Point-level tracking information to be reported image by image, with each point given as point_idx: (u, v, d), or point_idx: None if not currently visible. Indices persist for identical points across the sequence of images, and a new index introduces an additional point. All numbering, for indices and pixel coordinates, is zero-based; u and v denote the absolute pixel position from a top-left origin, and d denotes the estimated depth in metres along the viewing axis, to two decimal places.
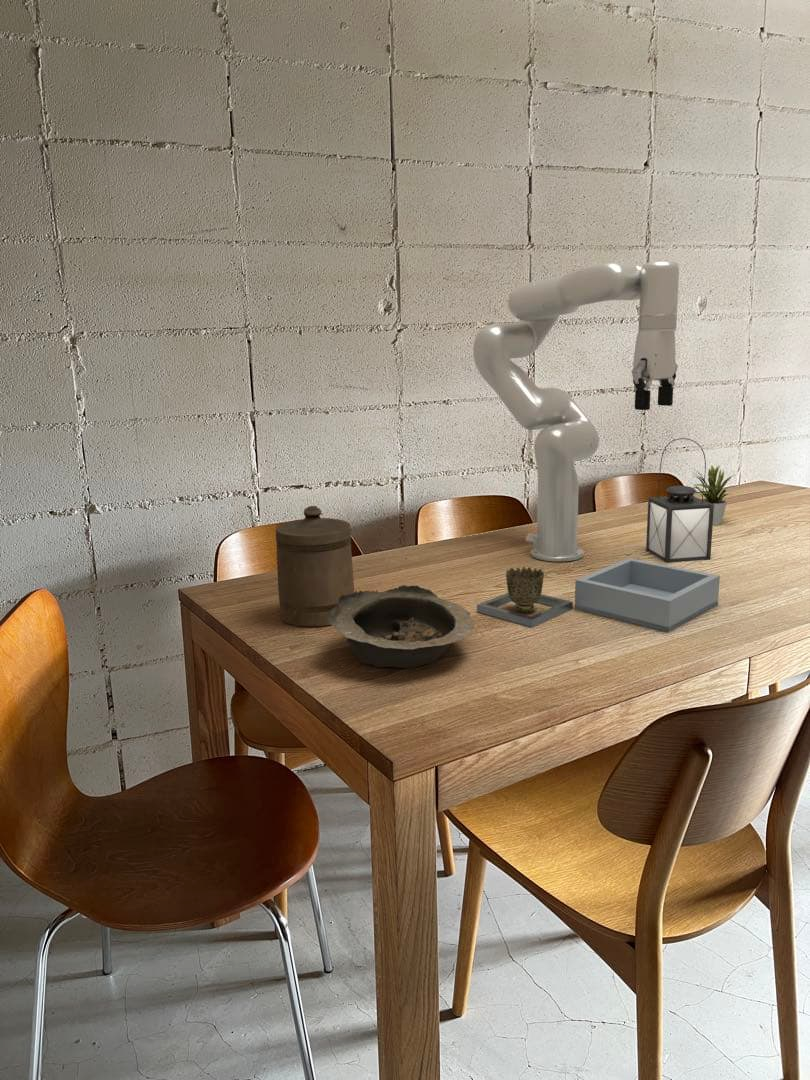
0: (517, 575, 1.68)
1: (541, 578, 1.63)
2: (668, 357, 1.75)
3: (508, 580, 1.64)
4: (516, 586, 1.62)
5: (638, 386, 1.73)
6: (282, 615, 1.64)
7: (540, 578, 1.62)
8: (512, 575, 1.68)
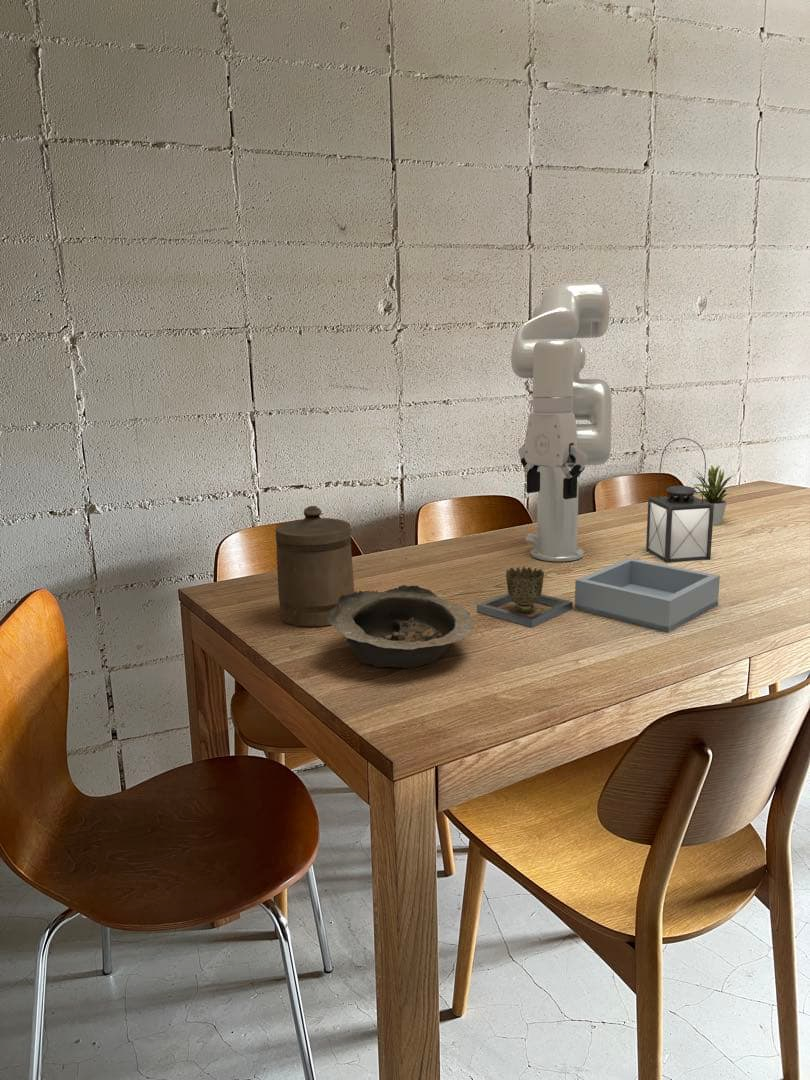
0: (517, 575, 1.68)
1: (541, 578, 1.63)
2: None
3: (508, 580, 1.64)
4: (516, 586, 1.62)
5: (577, 473, 1.58)
6: (282, 615, 1.64)
7: (540, 578, 1.62)
8: (512, 575, 1.68)
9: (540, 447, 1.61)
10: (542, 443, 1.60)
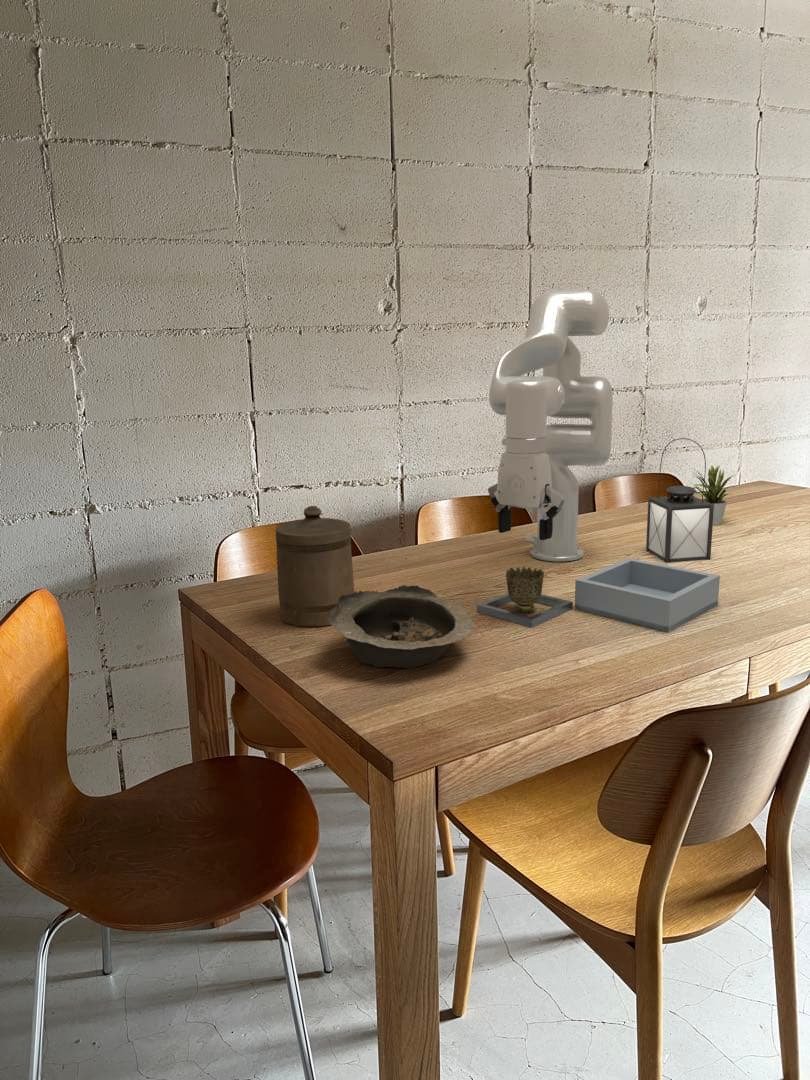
0: (517, 575, 1.68)
1: (541, 578, 1.63)
2: None
3: (508, 580, 1.64)
4: (516, 586, 1.62)
5: (554, 514, 1.57)
6: (282, 615, 1.64)
7: (540, 578, 1.62)
8: (512, 575, 1.68)
9: (514, 488, 1.58)
10: (517, 484, 1.58)
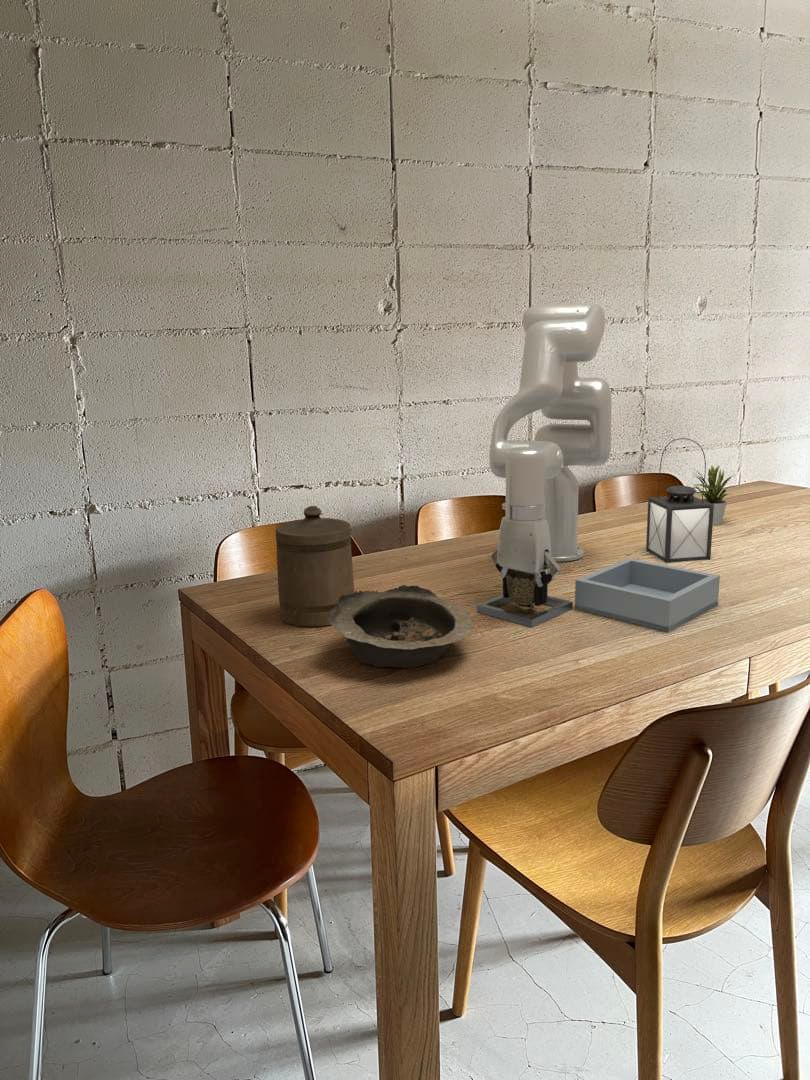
0: (517, 575, 1.68)
1: None
2: None
3: (508, 580, 1.64)
4: (516, 586, 1.62)
5: (548, 581, 1.61)
6: (282, 615, 1.64)
7: None
8: (512, 575, 1.68)
9: (514, 552, 1.62)
10: (517, 549, 1.61)
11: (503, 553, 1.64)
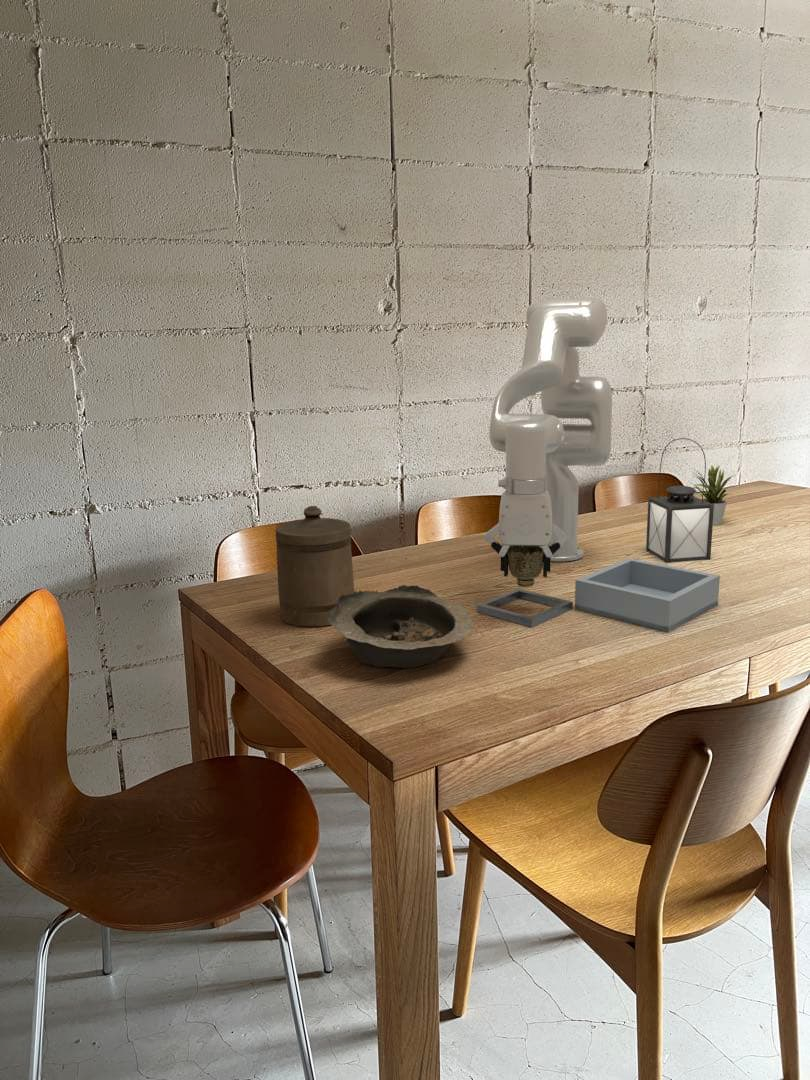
0: (510, 552, 1.66)
1: None
2: None
3: (517, 557, 1.61)
4: (528, 561, 1.61)
5: None
6: (282, 615, 1.64)
7: None
8: None
9: (523, 528, 1.60)
10: (526, 524, 1.60)
11: (508, 531, 1.61)
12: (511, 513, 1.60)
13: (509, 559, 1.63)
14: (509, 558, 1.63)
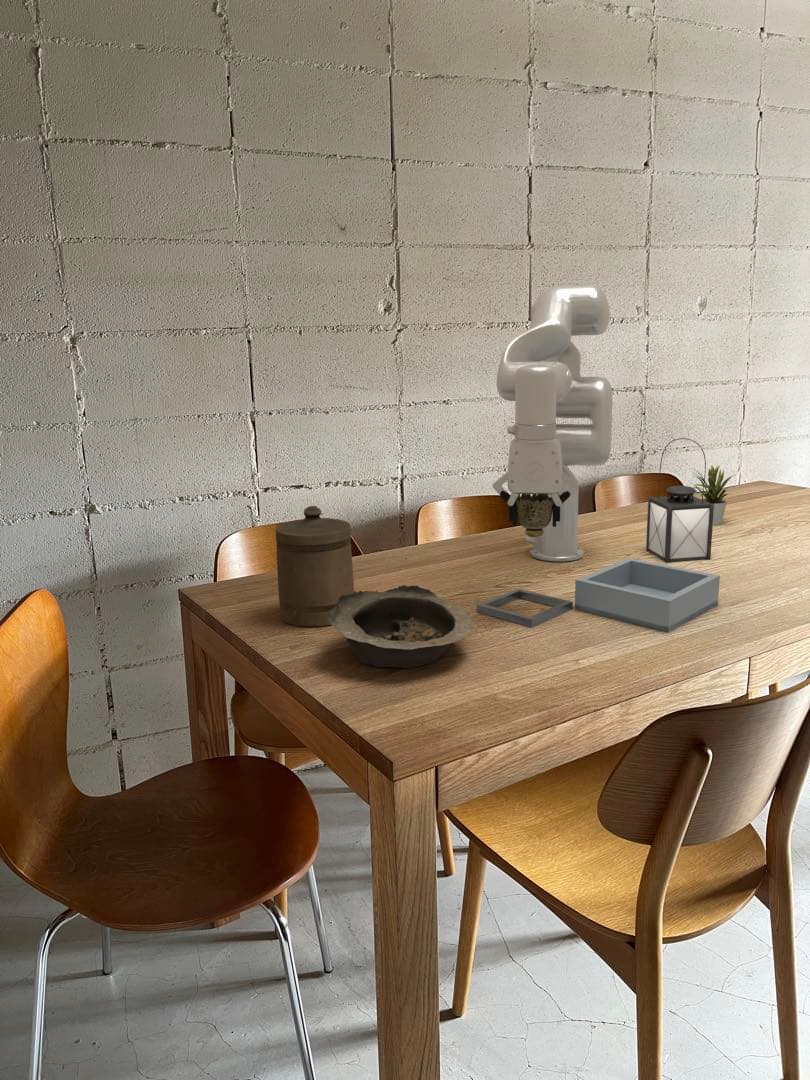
0: (519, 502, 1.63)
1: None
2: None
3: (526, 505, 1.58)
4: (537, 509, 1.58)
5: None
6: (282, 615, 1.64)
7: None
8: None
9: (532, 475, 1.57)
10: (535, 471, 1.57)
11: (517, 478, 1.58)
12: (520, 460, 1.57)
13: (518, 508, 1.60)
14: (518, 507, 1.60)
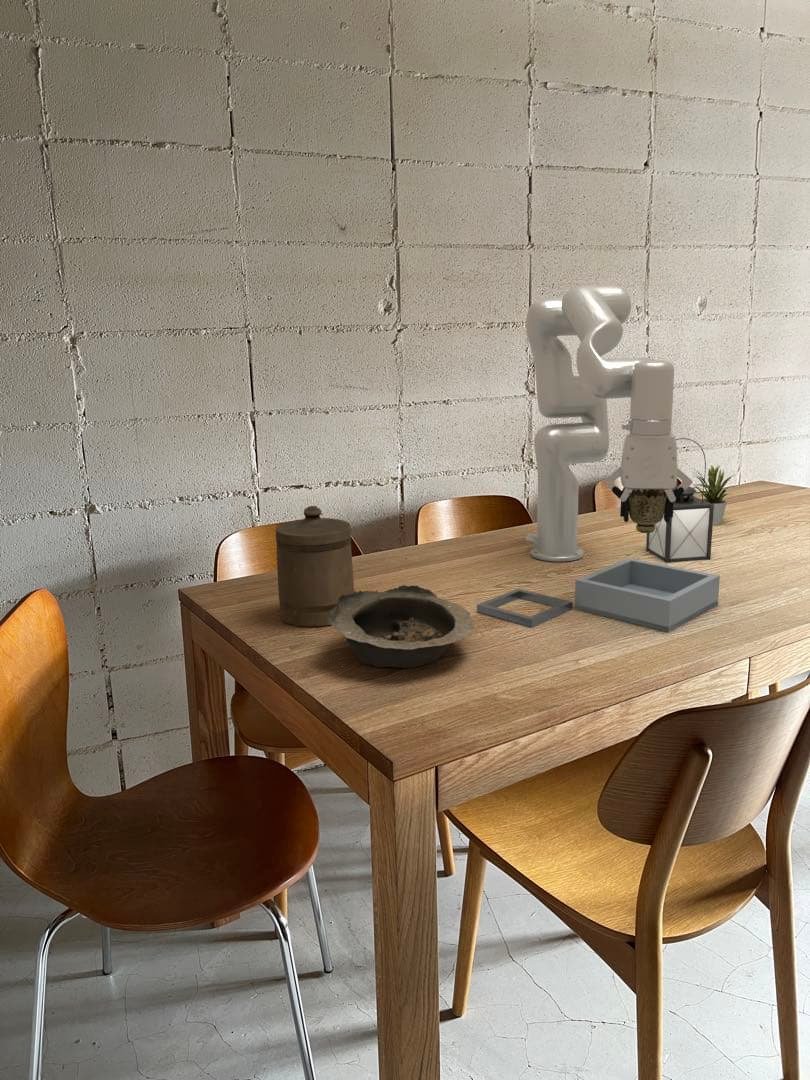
0: None
1: None
2: None
3: (640, 501, 1.58)
4: (651, 505, 1.58)
5: None
6: (282, 615, 1.64)
7: None
8: None
9: (647, 470, 1.57)
10: (651, 466, 1.57)
11: (632, 474, 1.58)
12: (636, 455, 1.57)
13: (631, 504, 1.60)
14: (631, 503, 1.60)
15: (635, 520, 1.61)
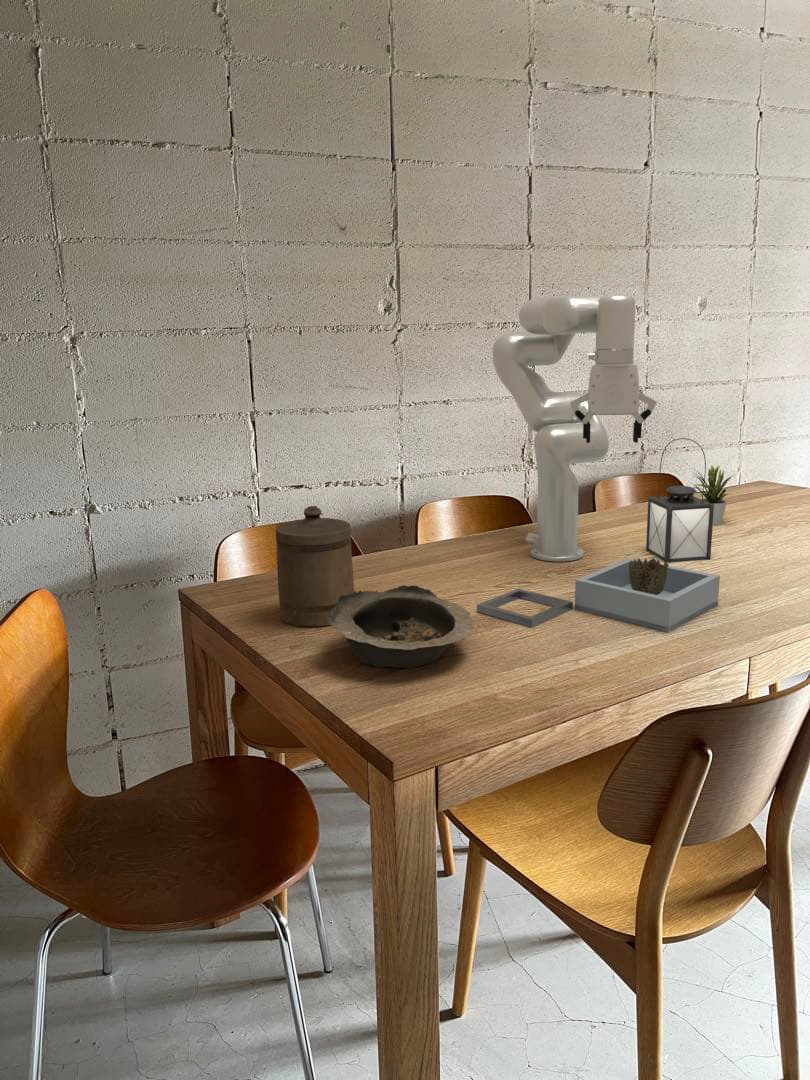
0: (631, 568, 1.67)
1: None
2: None
3: (642, 573, 1.62)
4: (653, 578, 1.61)
5: None
6: (282, 615, 1.64)
7: None
8: None
9: (612, 397, 1.71)
10: (615, 393, 1.71)
11: (598, 400, 1.72)
12: (601, 383, 1.71)
13: (632, 576, 1.64)
14: (633, 575, 1.64)
15: None
